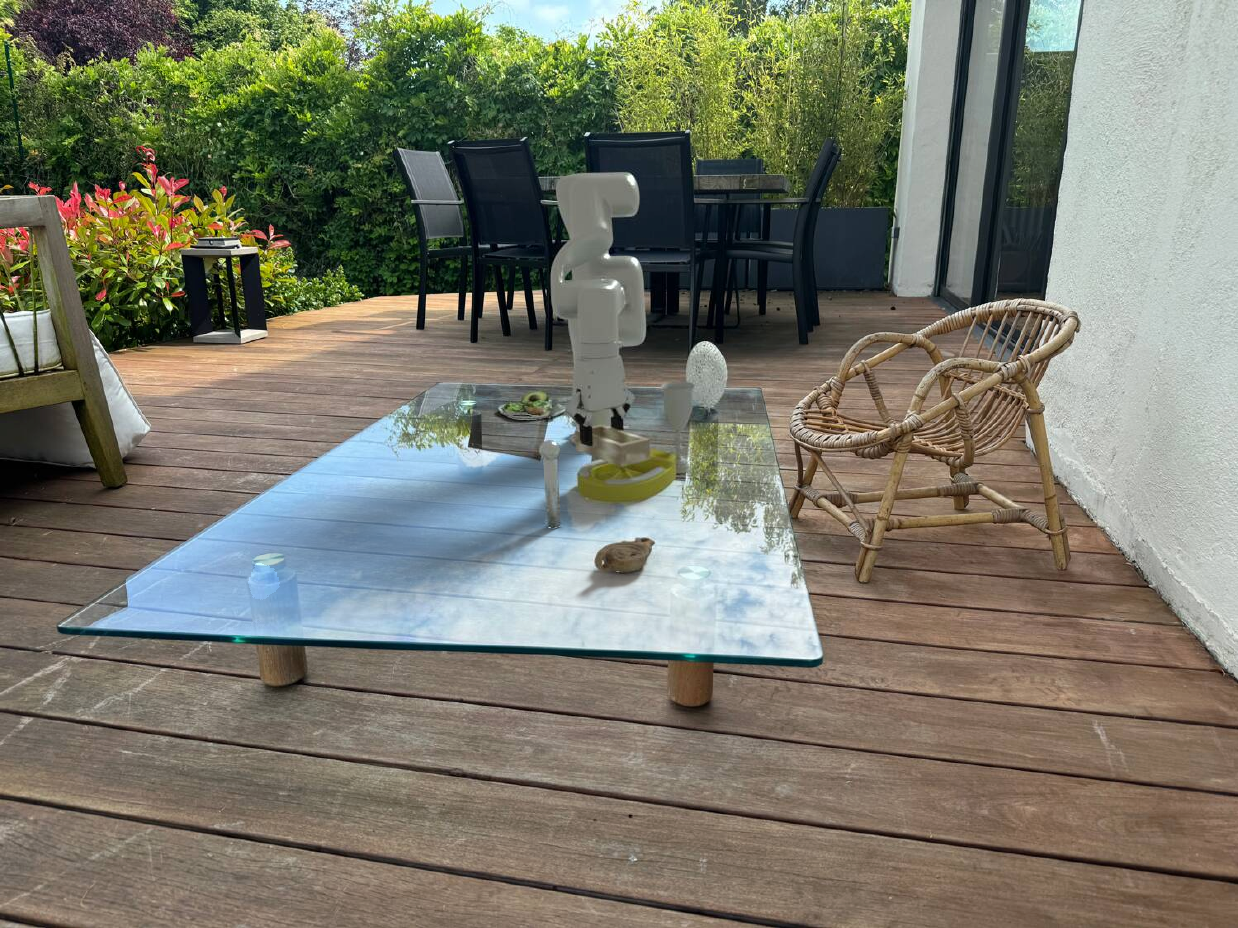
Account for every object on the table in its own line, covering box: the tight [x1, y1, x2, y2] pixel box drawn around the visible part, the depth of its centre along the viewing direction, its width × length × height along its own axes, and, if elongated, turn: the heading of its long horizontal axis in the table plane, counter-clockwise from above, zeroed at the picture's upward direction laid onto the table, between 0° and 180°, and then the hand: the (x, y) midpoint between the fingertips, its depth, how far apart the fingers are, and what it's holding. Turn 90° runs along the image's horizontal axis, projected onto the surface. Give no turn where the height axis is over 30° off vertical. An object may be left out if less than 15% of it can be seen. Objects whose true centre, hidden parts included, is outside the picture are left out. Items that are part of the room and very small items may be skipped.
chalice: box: [660, 381, 695, 474], centre depth 175 cm, size 7×7×18 cm
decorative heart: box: [685, 340, 728, 413], centre depth 224 cm, size 18×11×17 cm, turn 0°
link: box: [574, 424, 651, 467], centre depth 164 cm, size 15×7×4 cm, turn 37°
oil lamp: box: [594, 537, 656, 573], centre depth 132 cm, size 13×8×5 cm, turn 139°
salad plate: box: [497, 390, 566, 419], centre depth 226 cm, size 19×18×5 cm
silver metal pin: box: [538, 439, 562, 528], centre depth 148 cm, size 4×4×16 cm
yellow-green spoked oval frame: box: [576, 448, 677, 504], centre depth 169 cm, size 16×21×5 cm
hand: (602, 440), depth 166 cm, fingers closed on link, 6 cm apart
